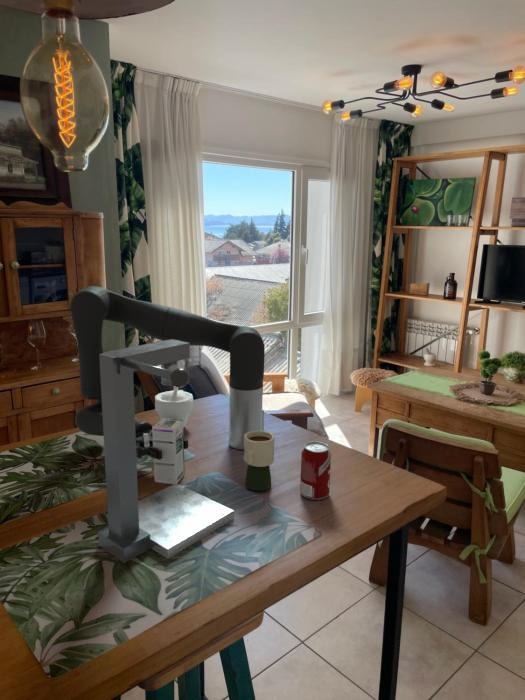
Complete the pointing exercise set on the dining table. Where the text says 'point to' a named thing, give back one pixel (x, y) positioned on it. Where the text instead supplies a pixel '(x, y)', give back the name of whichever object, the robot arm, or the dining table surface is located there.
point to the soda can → (315, 471)
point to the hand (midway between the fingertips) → (174, 450)
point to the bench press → (121, 464)
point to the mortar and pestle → (174, 402)
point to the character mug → (258, 459)
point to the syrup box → (169, 450)
